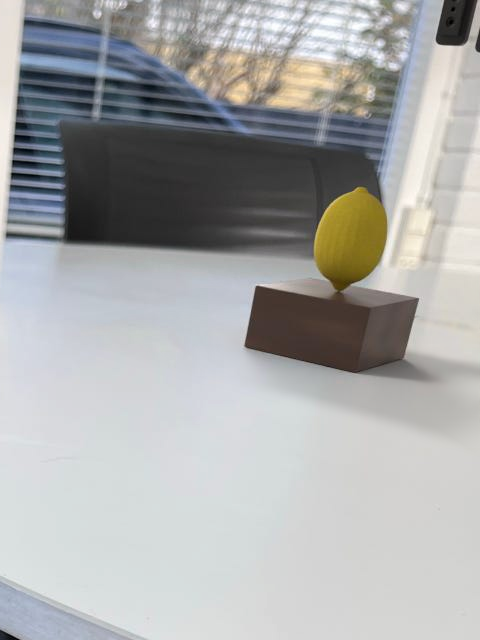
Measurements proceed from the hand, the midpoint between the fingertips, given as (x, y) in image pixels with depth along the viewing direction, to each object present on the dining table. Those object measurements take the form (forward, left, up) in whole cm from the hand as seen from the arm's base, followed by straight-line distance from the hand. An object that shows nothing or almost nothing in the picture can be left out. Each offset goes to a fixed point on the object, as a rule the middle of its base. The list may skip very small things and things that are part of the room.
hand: (470, 49), depth 82 cm
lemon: (+6, -3, -18) cm, 20 cm away
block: (+7, -3, -23) cm, 24 cm away
